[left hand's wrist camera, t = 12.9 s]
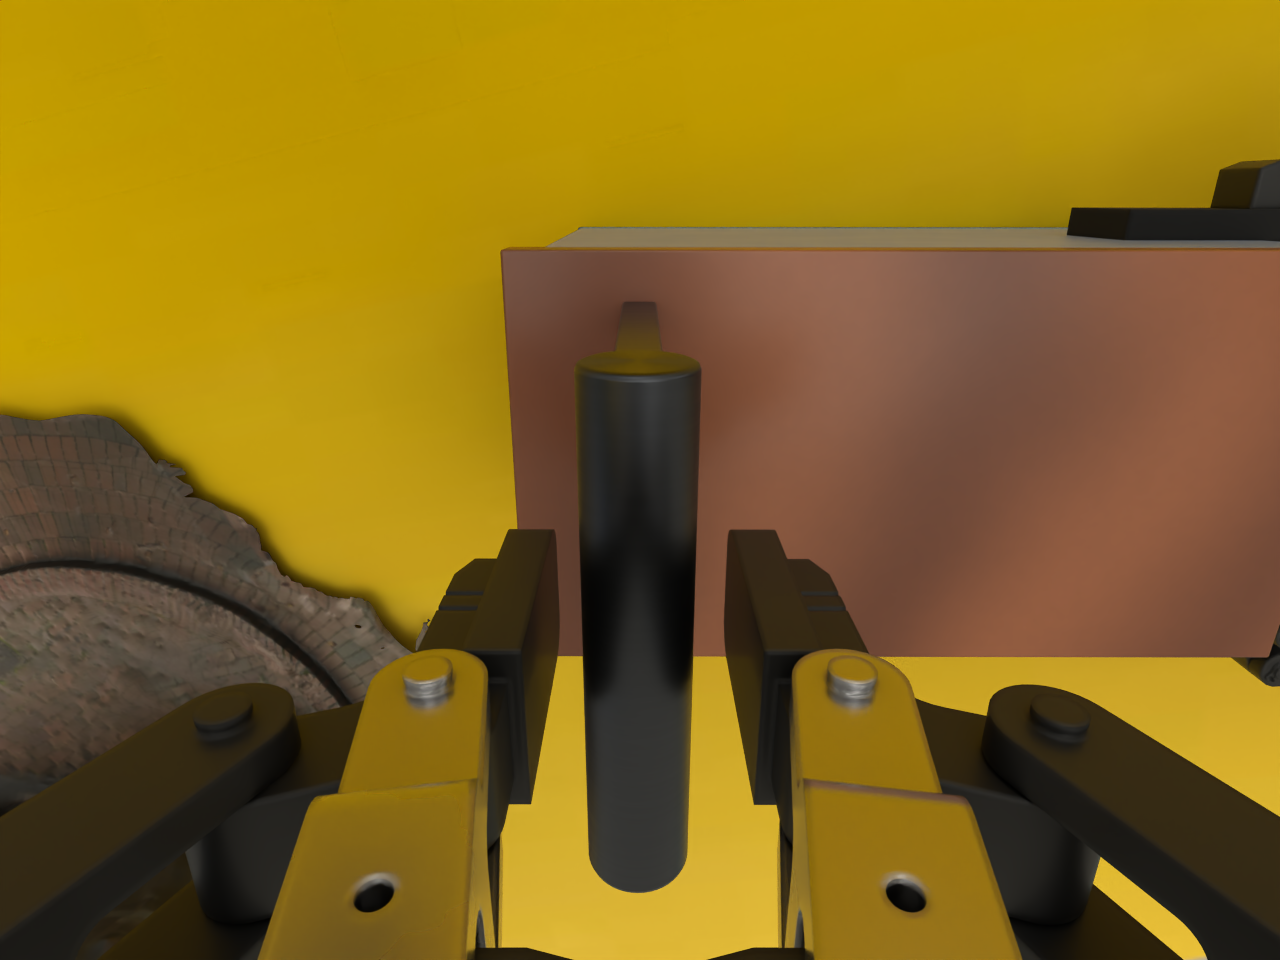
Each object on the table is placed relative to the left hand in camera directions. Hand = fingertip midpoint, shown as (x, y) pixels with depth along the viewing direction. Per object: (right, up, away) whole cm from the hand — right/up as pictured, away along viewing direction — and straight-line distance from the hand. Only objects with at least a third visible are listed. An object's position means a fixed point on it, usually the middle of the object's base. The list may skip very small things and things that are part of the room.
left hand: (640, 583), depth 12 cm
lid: (+6, +2, +5) cm, 9 cm away
